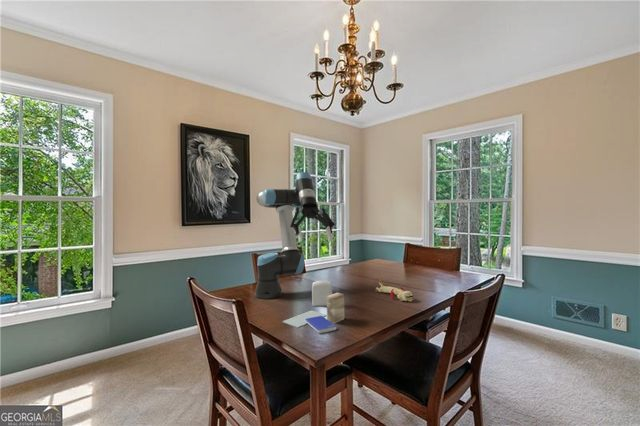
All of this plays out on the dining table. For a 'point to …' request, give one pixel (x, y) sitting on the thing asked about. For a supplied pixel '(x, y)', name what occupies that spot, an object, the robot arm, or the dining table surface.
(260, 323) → the dining table surface
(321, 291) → the photo printer
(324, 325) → the hard drive
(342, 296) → the birch block
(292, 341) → the dining table surface
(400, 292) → the cat figure
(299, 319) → the mat
